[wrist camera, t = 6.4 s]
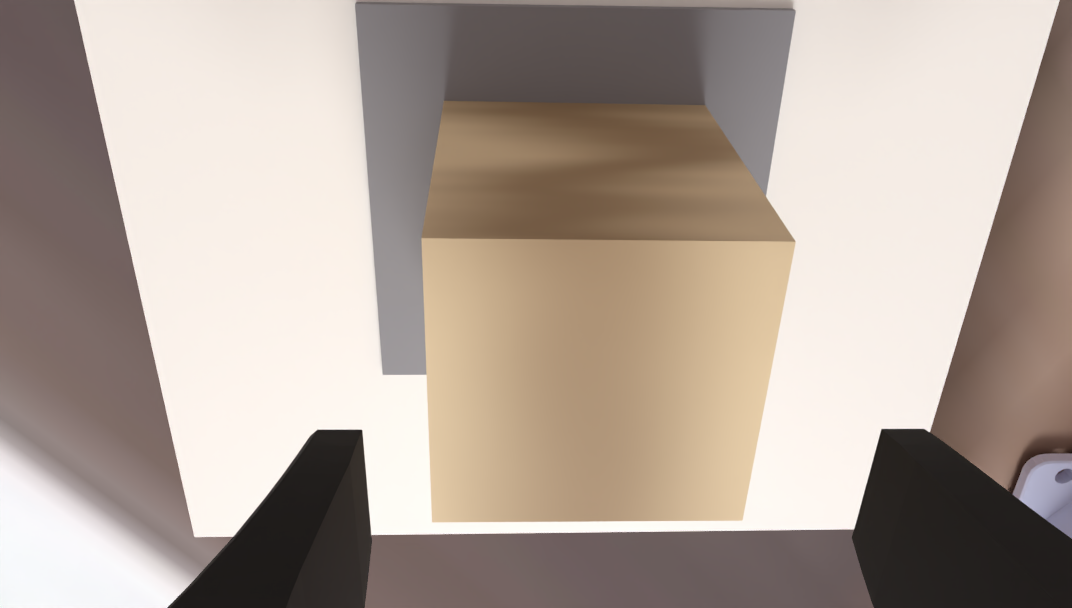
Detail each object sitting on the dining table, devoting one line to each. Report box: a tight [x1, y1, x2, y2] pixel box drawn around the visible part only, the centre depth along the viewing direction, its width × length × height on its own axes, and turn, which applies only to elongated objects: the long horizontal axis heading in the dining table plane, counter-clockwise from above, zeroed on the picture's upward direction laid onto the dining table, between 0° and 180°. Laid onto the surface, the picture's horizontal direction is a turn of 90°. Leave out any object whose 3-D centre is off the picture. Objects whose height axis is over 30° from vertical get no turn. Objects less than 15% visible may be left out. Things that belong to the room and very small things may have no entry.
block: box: [421, 101, 796, 522], centre depth 16 cm, size 5×5×6 cm
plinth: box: [74, 0, 1059, 537], centre depth 19 cm, size 18×18×2 cm
